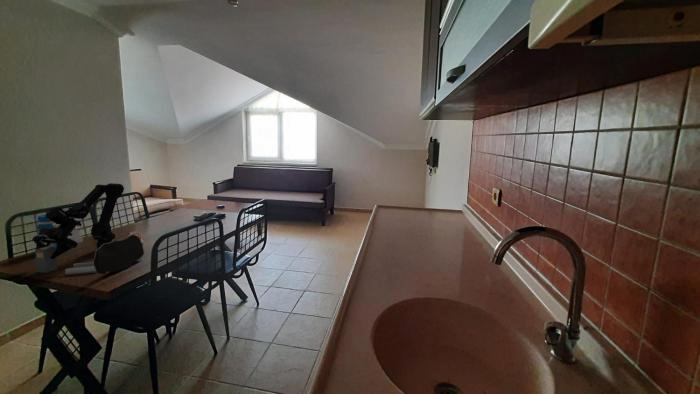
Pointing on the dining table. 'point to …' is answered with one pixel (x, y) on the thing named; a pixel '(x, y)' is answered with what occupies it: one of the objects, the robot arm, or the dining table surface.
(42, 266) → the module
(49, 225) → the beverage bottle
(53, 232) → the robot arm
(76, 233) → the white angled block
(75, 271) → the din rail
